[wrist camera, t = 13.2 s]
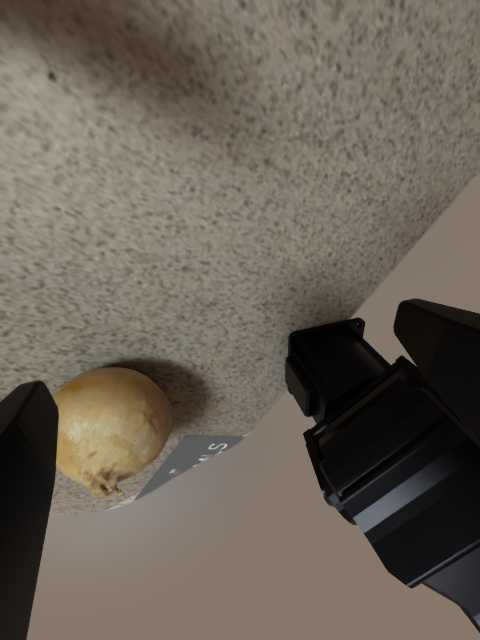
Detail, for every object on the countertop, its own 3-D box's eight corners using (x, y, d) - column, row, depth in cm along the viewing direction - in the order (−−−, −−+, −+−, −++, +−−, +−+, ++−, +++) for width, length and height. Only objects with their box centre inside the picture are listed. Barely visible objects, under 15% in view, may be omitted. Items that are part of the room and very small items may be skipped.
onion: (25, 385, 22) (-15, 483, 16) (129, 330, 22) (127, 407, 16) (101, 444, 26) (92, 536, 21) (187, 398, 26) (201, 478, 21)
